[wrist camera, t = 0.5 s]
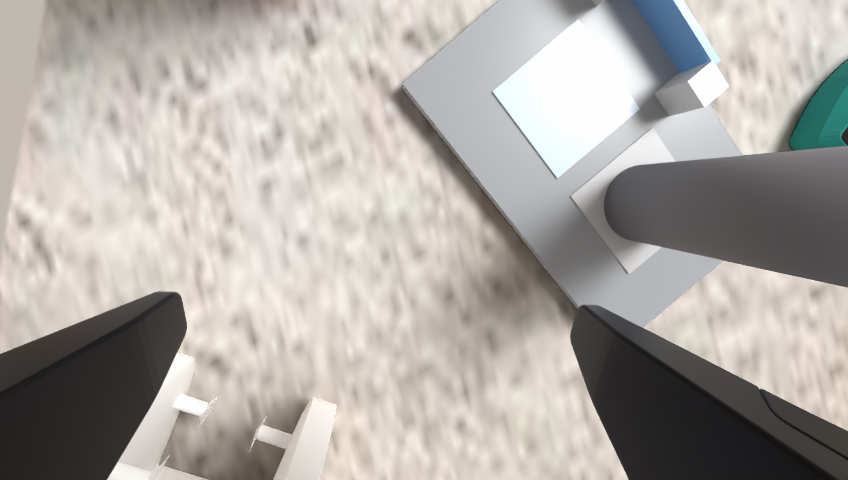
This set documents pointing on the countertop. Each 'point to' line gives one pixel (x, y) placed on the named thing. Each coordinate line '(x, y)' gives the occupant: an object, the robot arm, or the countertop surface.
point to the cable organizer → (139, 464)
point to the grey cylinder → (742, 210)
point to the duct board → (580, 131)
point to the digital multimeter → (825, 115)
